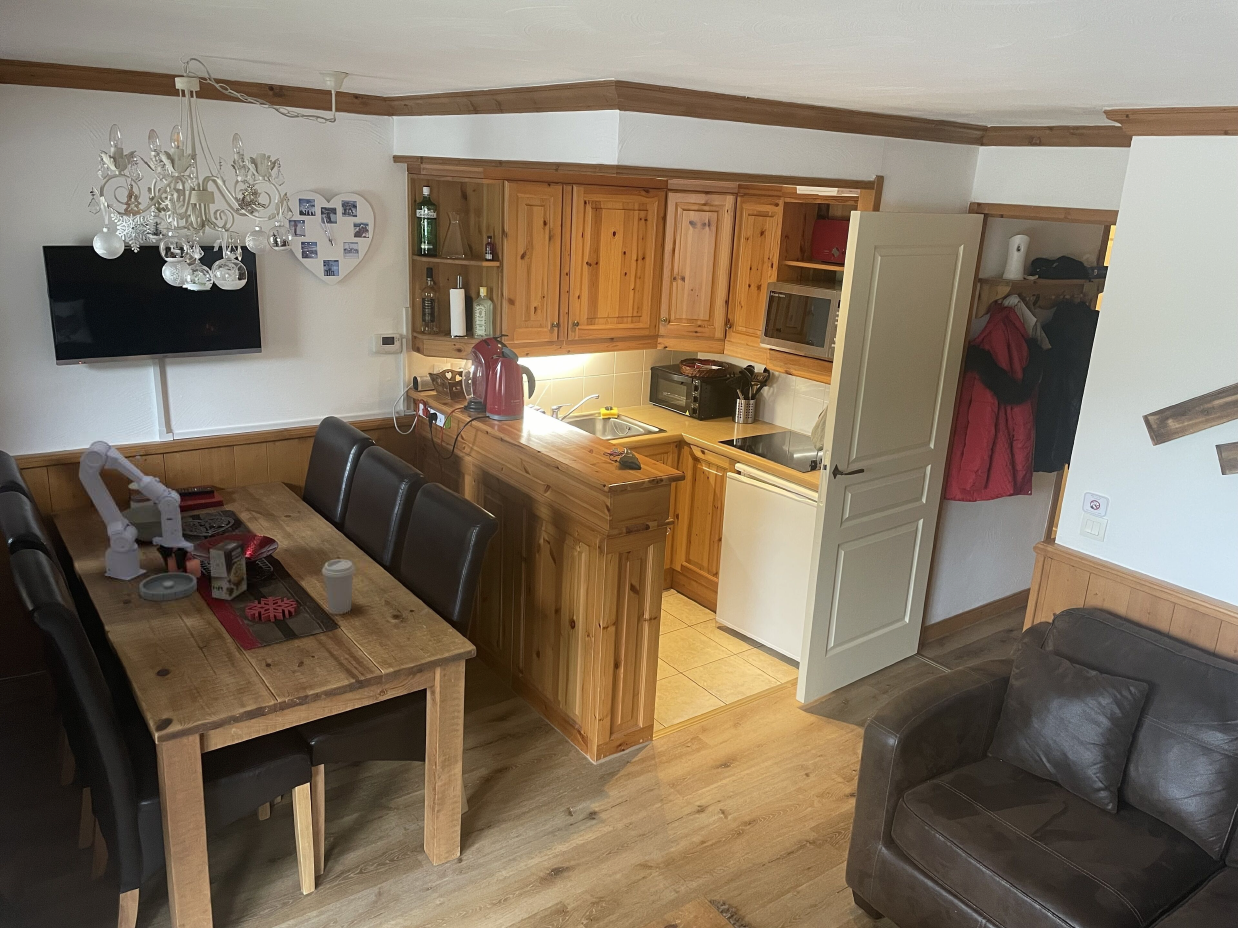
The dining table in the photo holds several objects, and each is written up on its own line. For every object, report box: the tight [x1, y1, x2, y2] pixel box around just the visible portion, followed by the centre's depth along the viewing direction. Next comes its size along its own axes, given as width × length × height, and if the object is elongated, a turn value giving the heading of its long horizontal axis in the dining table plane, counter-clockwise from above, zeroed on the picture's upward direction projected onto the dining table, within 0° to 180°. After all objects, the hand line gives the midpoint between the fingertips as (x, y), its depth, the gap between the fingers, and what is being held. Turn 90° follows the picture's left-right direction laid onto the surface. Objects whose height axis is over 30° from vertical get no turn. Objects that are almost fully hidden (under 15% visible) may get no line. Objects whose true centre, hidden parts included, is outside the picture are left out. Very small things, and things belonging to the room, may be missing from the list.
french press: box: [127, 455, 159, 508], centre depth 338 cm, size 10×12×25 cm
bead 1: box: [167, 554, 183, 573], centre depth 299 cm, size 4×4×5 cm
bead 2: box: [185, 558, 202, 579], centre depth 296 cm, size 4×4×5 cm
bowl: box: [120, 504, 163, 543], centre depth 323 cm, size 19×19×10 cm
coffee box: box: [209, 539, 248, 601], centre depth 284 cm, size 9×6×16 cm
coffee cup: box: [321, 558, 356, 615], centre depth 278 cm, size 10×10×15 cm
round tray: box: [138, 572, 198, 602], centre depth 285 cm, size 16×16×2 cm
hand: (175, 567), depth 299 cm, fingers closed on bead 1, 4 cm apart
